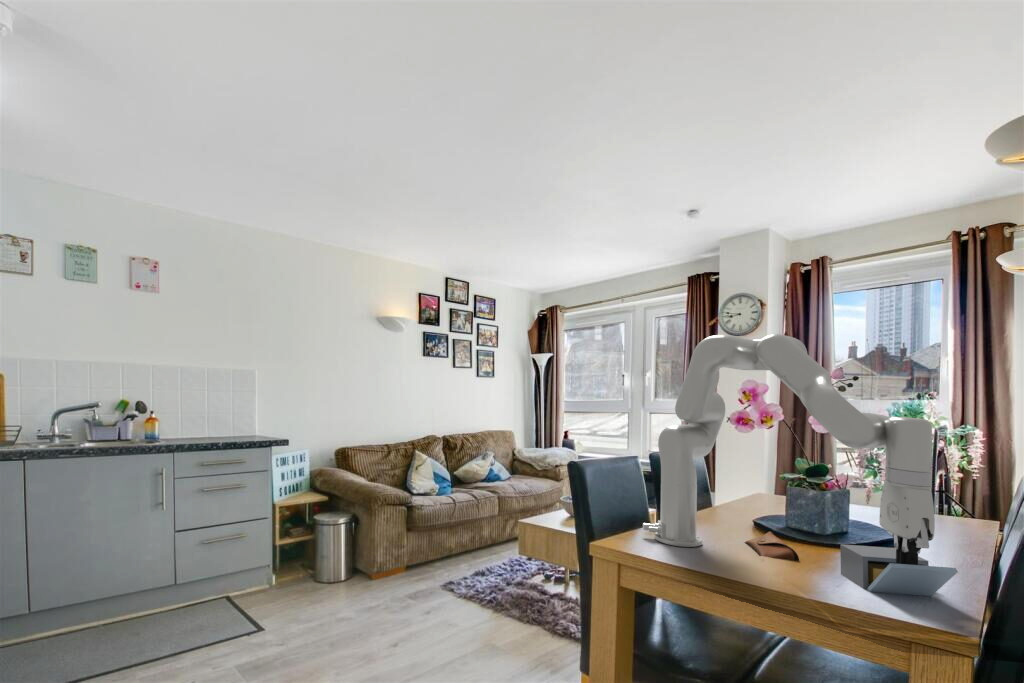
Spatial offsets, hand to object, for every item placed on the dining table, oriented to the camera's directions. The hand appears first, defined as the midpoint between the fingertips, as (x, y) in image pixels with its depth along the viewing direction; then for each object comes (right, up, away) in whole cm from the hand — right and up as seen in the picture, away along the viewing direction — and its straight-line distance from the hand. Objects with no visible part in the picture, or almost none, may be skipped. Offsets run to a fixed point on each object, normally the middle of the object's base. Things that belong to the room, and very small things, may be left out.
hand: (906, 571), depth 105 cm
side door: (+1, -6, +4) cm, 8 cm away
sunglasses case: (-12, -10, +32) cm, 36 cm away
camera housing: (+2, -8, +9) cm, 12 cm away
